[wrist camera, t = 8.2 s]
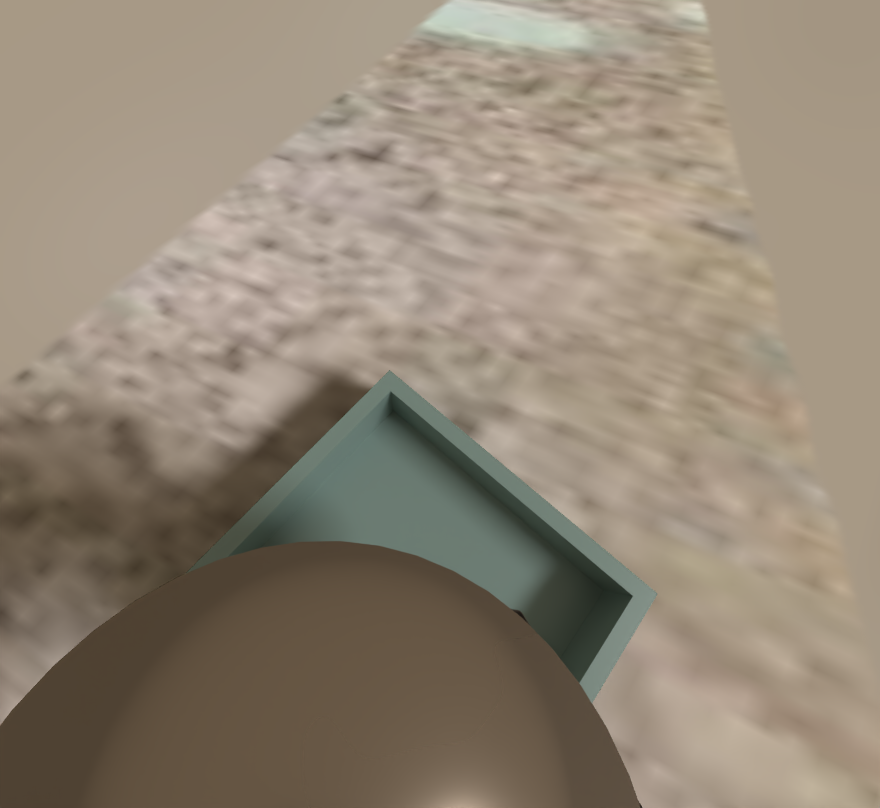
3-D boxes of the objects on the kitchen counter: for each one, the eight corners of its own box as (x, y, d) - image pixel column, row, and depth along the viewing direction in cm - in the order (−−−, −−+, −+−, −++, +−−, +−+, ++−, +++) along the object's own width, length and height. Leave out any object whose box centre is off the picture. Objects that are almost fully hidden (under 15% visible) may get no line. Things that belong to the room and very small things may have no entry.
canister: (393, 751, 14) (262, 2300, 2) (284, 639, 15) (-354, 1062, 2) (487, 618, 15) (802, 868, 3) (384, 524, 16) (304, 422, 4)
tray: (415, 906, 18) (416, 996, 14) (165, 629, 20) (113, 645, 17) (618, 587, 22) (657, 593, 19) (392, 396, 25) (389, 370, 21)
